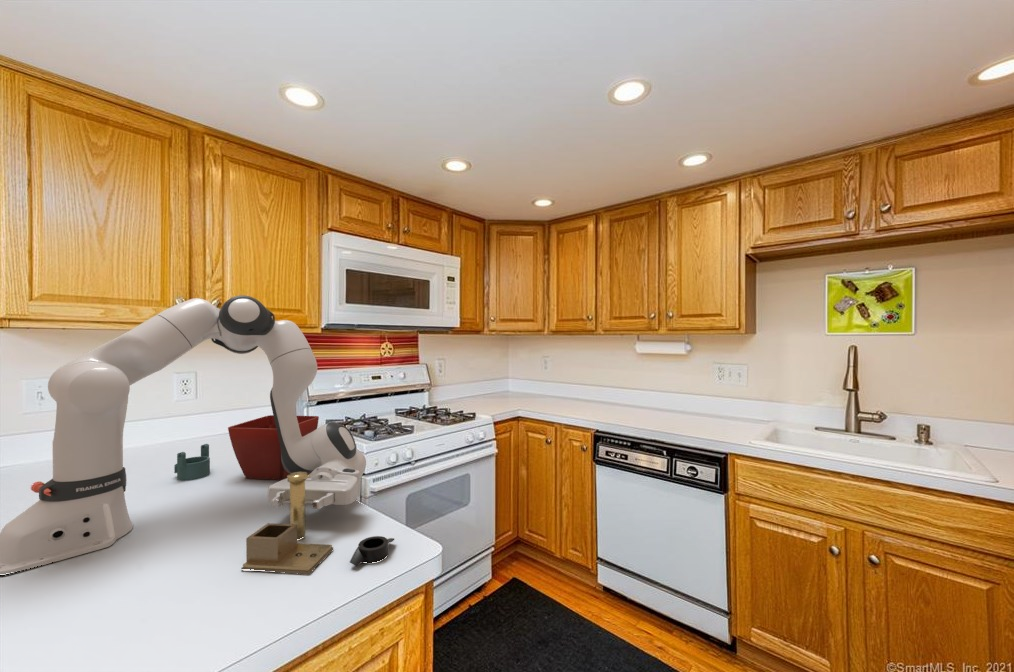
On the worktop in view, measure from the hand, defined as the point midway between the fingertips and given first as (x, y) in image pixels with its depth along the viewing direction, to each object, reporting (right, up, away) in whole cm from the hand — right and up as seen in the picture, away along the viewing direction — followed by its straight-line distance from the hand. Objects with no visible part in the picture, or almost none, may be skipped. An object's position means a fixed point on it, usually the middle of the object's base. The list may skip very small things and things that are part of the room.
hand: (295, 504), depth 92 cm
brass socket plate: (+3, -8, -8) cm, 12 cm away
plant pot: (-28, -8, +44) cm, 53 cm away
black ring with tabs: (+19, -8, -7) cm, 22 cm away
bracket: (-53, -8, +41) cm, 67 cm away
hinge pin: (0, -8, +1) cm, 8 cm away
